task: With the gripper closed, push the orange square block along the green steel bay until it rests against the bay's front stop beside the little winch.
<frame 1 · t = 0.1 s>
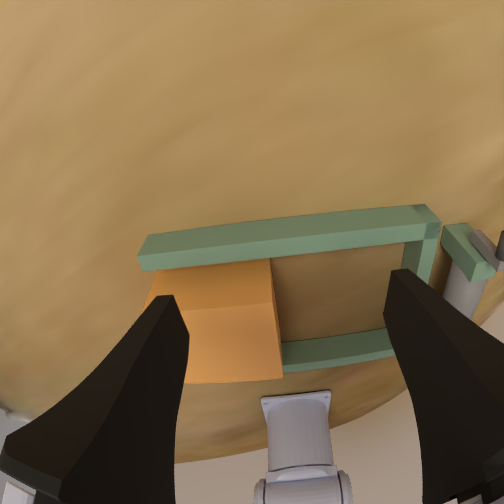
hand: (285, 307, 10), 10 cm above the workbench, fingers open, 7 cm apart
bay: (301, 294, 23), on the workbench
orange square block: (223, 300, 24), on the workbench
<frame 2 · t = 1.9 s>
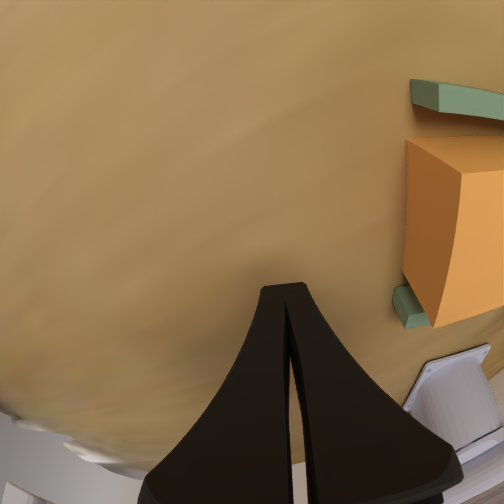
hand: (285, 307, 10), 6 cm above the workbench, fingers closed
orange square block: (461, 201, 14), on the workbench
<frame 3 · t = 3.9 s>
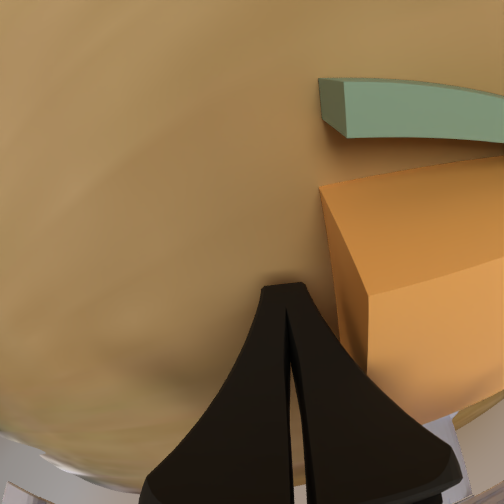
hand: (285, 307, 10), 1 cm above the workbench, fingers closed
orange square block: (427, 260, 11), on the workbench, touching gripper
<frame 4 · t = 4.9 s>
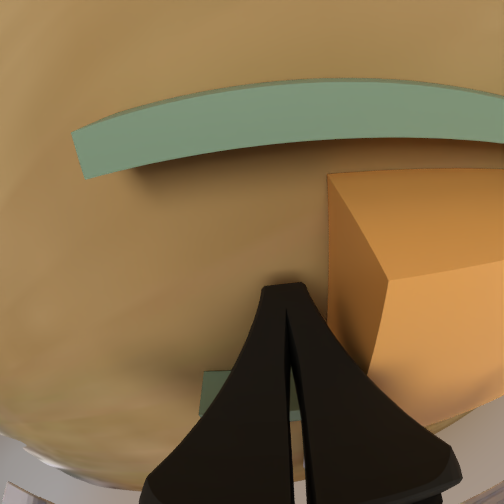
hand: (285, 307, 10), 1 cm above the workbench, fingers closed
bay: (425, 261, 10), on the workbench
orange square block: (423, 265, 11), on the workbench, touching gripper
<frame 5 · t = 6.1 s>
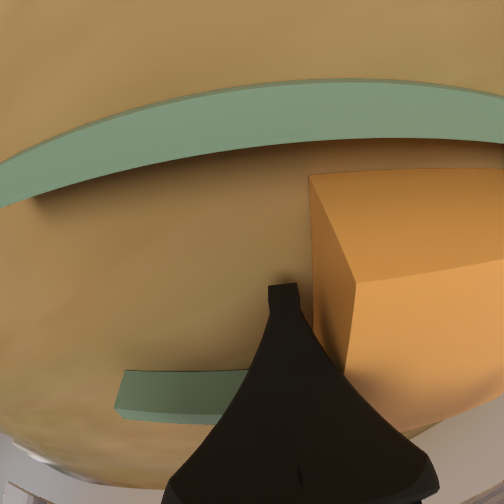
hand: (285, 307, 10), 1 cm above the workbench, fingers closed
bay: (312, 276, 11), on the workbench
orange square block: (411, 266, 11), on the workbench, touching bay, gripper
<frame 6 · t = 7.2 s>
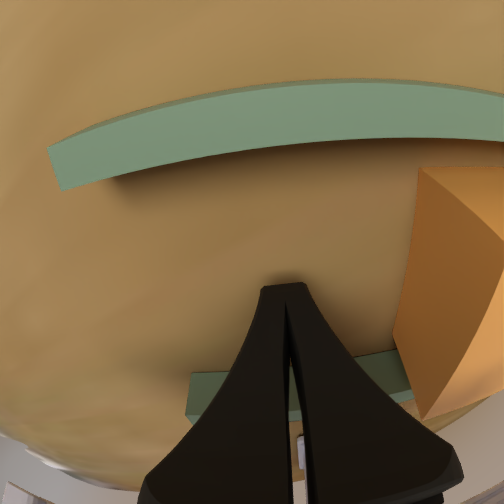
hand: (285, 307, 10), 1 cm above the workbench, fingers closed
bay: (408, 263, 11), on the workbench
orange square block: (478, 251, 10), on the workbench
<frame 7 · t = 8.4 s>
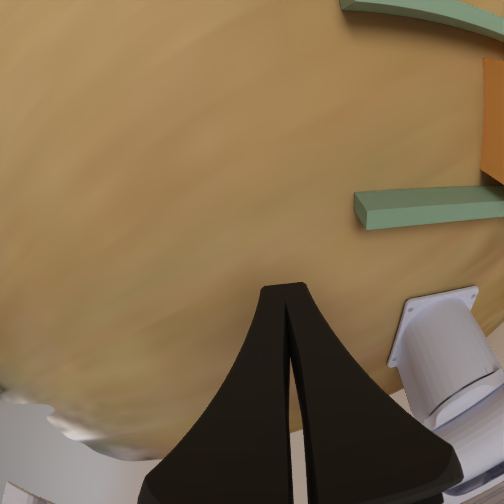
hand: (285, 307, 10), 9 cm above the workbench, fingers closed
bay: (485, 111, 14), on the workbench
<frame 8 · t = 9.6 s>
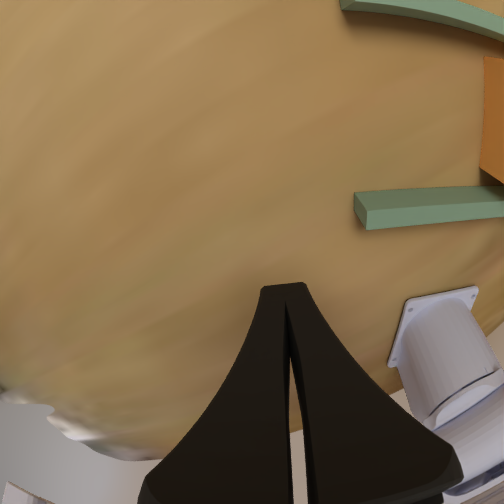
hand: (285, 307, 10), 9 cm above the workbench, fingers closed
bay: (485, 111, 14), on the workbench
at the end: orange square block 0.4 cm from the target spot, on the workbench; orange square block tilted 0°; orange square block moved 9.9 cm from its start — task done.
